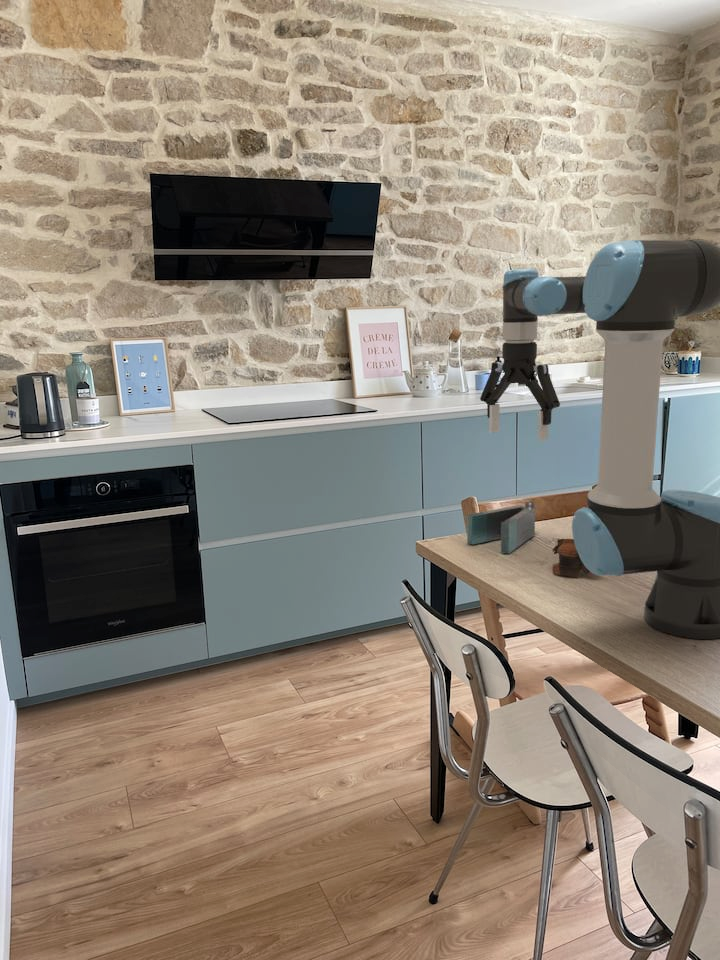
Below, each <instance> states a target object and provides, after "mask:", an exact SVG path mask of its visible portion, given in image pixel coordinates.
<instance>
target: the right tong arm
mask: <svg viewBox="0 0 720 960" xmlns="http://www.w3.org/2000/svg"><path fill="white" fill-rule="evenodd" d="M535 522H536V507H534V508H531V507H527V508H526V509H524V510H523V511H521V512H519V513H518V514H516V515H514V516H513V517H511V518H509V519H508V520H506V521H504V522H503V523H501V539H500V545H501V546H500V547H501V548H500V553H502V554H511V552H513V551H515V550H516V549H517V548H519V547H520V546H522V545H524V543H526V542H527V541H529V540H530V539H532V538H533V537H534V536H535V535H536V533H535V532H536V530H535V529H536V526H535V525H536V523H535Z"/></svg>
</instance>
